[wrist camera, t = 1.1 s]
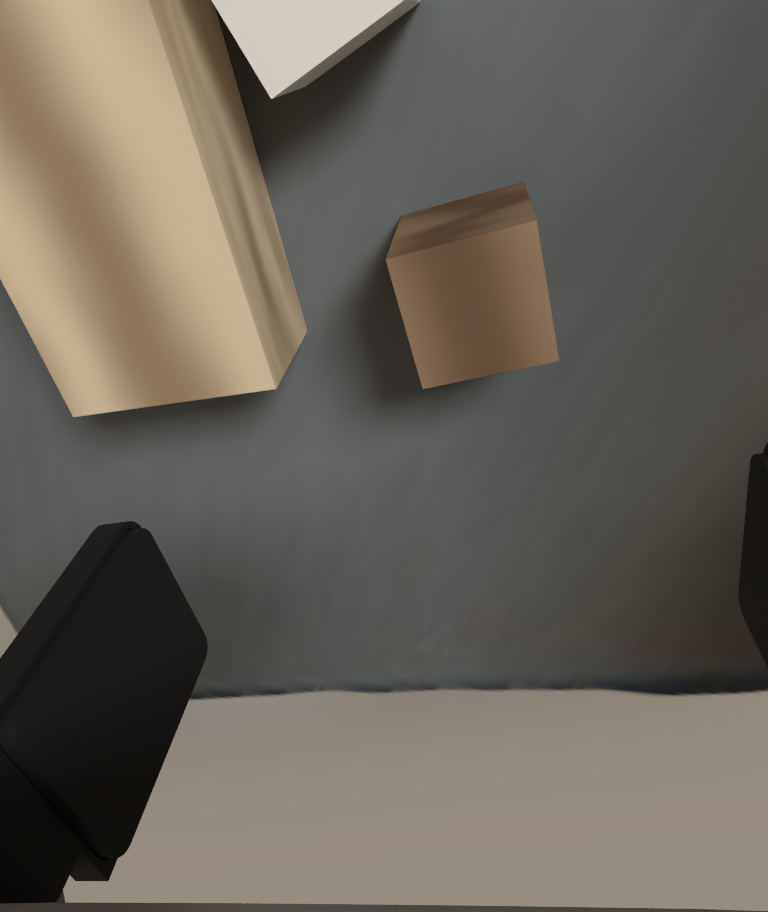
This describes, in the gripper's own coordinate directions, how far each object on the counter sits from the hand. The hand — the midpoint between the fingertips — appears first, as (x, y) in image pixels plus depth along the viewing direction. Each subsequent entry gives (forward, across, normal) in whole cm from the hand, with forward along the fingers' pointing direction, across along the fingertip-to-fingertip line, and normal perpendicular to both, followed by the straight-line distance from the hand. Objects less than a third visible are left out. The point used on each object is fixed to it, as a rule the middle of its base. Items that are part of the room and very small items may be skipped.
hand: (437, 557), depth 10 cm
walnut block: (+20, -1, +1) cm, 20 cm away
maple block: (+20, +12, -4) cm, 24 cm away
